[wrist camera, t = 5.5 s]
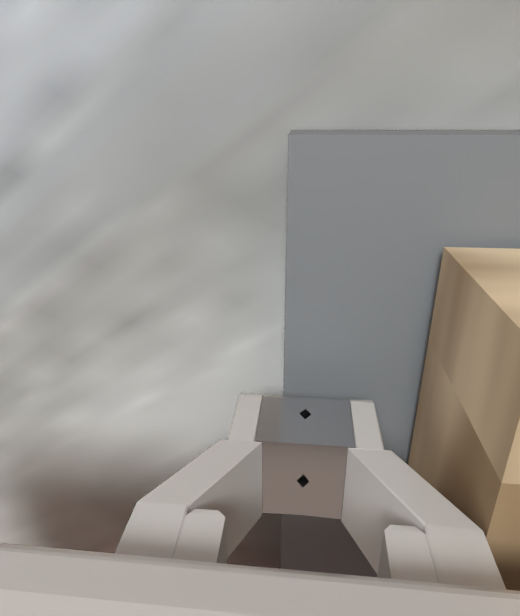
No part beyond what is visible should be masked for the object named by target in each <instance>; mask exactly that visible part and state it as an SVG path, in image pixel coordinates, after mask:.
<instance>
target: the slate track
mask: <svg viewBox="0 0 520 616" xmlns="http://www.w3.org/2000/svg"><path fill="white" fill-rule="evenodd" d="M444 247H468V248H513V249H520V130H291V131H290V133H289V134H288V182H287V234H286V287H285V339H284V392H283V396H294V397H307V398H319V399H342V400H349V399H358V400H373V402H374V403H375V408H376V413H377V417H378V422H379V427H380V431H381V436H382V441H383V445H384V450H390V451H393V452H394V453H395V454H396V455H397V456H398V457H399V458H401V459H402V460H403V461H404V462H405V463H406V464H407V465H408V462H409V456H410V450H411V444H412V438H413V431H414V425H415V419H416V413H417V407H418V401H419V395H420V389H421V383H422V377H423V371H424V365H425V359H426V353H427V347H428V340H429V334H430V328H431V322H432V316H433V310H434V304H435V298H436V292H437V286H438V280H439V274H440V268H441V262H442V255H443V249H444ZM280 569H291V570H302V571H313V572H324V573H335V574H346V575H357V576H368V577H377V573H376V572H375V570H374V569H373V567H372V566H371V564H370V563H369V561H368V560H367V559H366V557H365V556H364V554H363V553H362V551H361V550H360V548H359V547H358V545H357V544H356V542H355V541H354V539H353V538H352V536H351V535H350V533H349V532H348V530H347V529H346V527H345V526H344V524H343V523H342V522H341V519H335V518H326V517H316V516H307V515H295V514H281V549H280Z"/></svg>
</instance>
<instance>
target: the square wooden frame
mask: <svg viewBox="0 0 520 616" xmlns="http://www.w3.org/2000/svg"><path fill="white" fill-rule="evenodd" d="M408 465H409V466H410V467H411V468H412V469H413V470H414V471H415V472H417V473H418V474H419V475H420V476H421V477H422V478H423V479H425V480H426V481H427V482H428V483H429V484H430V485H431V486H433V487H434V488H435V489H436V490H437V491H438V492H439V493H441V494H442V495H443V496H444V497H445V498H446V499H447V500H449V501H450V502H451V503H452V504H453V505H454V506H455V507H457V508H458V509H459V510H460V511H461V512H462V513H463V514H465V515H466V516H467V517H468V518H469V519H470V520H471V521H472V522H474V523H475V524H476V525H477V526H478V527H479V528H480V529H482V530H483V532H484V535H485V537H486V540H487V542H488V545H489V547H490V550H491V552H492V555H493V557H494V560H495V562H496V565H497V567H498V570H499V572H500V575H501V577H502V580H503V582H504V585H505V587H506V590H516V591H520V249H513V248H468V247H444V249H443V255H442V262H441V268H440V274H439V280H438V286H437V292H436V298H435V304H434V310H433V316H432V322H431V328H430V334H429V340H428V347H427V353H426V359H425V365H424V371H423V377H422V383H421V389H420V395H419V401H418V407H417V413H416V419H415V425H414V431H413V438H412V444H411V450H410V456H409V462H408Z"/></svg>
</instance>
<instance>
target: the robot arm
mask: <svg viewBox="0 0 520 616" xmlns="http://www.w3.org/2000/svg"><path fill="white" fill-rule="evenodd" d="M262 513H276V514H295V515H307V516H316V517H326V518H335V519H341V522H342V523H343V524H344V526H345V527H346V529H347V530H348V532H349V533H350V535H351V536H352V538H353V539H354V541H355V542H356V544H357V545H358V547H359V548H360V550H361V551H362V553H363V554H364V556H365V557H366V559H367V560H368V561H369V563H370V564H371V566H372V567H373V569H374V570H375V572H376V573H377V577H368V576H357V575H346V574H335V573H324V572H313V571H302V570H291V569H280V568H269V567H258V566H247V565H236V564H228V563H227V558H228V557H229V556H230V555H231V553H232V552H233V551H234V550H235V548H236V547H237V546H238V545H239V544H240V542H241V541H242V540H243V539H244V537H245V536H246V535H247V534H248V532H249V531H250V530H251V529H252V527H253V526H254V525H255V524H256V522H257V521H258V520H259V519H260V518H261V516H262ZM0 616H520V591H516V590H506V587H505V585H504V582H503V580H502V577H501V575H500V572H499V570H498V567H497V565H496V562H495V560H494V557H493V555H492V552H491V550H490V547H489V545H488V542H487V540H486V537H485V535H484V532H483V530H482V529H480V528H479V527H478V526H477V525H476V524H475V523H474V522H472V521H471V520H470V519H469V518H468V517H467V516H466V515H465V514H463V513H462V512H461V511H460V510H459V509H458V508H457V507H455V506H454V505H453V504H452V503H451V502H450V501H449V500H447V499H446V498H445V497H444V496H443V495H442V494H441V493H439V492H438V491H437V490H436V489H435V488H434V487H433V486H431V485H430V484H429V483H428V482H427V481H426V480H425V479H423V478H422V477H421V476H420V475H419V474H418V473H417V472H415V471H414V470H413V469H412V468H411V467H410V466H409V465H407V464H406V463H405V462H404V461H403V460H402V459H401V458H399V457H398V456H397V455H396V454H395V453H394V452H393V451H390V450H384V445H383V441H382V436H381V431H380V427H379V422H378V417H377V413H376V408H375V403H374V402H373V400H358V399H349V400H342V399H319V398H307V397H294V396H281V395H268V394H263V395H262V394H253V393H241V394H240V395H239V396H238V400H237V404H236V408H235V412H234V416H233V420H232V424H231V428H230V432H229V436H228V440H224V439H221V440H219V441H218V442H217V443H215V444H214V445H213V446H211V447H210V448H209V449H207V450H206V451H205V452H203V453H202V454H201V455H199V456H198V457H197V458H195V459H194V460H193V461H191V462H190V463H189V464H187V465H186V466H185V467H183V468H182V469H180V470H179V471H178V472H176V473H175V474H174V475H172V476H171V477H170V478H168V479H167V480H166V481H164V482H163V483H162V484H160V485H159V486H158V487H156V488H155V489H154V490H152V491H151V492H150V493H148V494H147V495H146V496H144V497H143V498H142V499H140V500H139V501H138V502H137V503H136V505H135V508H134V510H133V512H132V514H131V517H130V519H129V521H128V523H127V526H126V528H125V530H124V532H123V535H122V537H121V539H120V541H119V544H118V546H117V548H116V550H115V553H105V552H94V551H83V550H73V549H62V548H51V547H40V546H29V545H18V544H7V543H0Z"/></svg>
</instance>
